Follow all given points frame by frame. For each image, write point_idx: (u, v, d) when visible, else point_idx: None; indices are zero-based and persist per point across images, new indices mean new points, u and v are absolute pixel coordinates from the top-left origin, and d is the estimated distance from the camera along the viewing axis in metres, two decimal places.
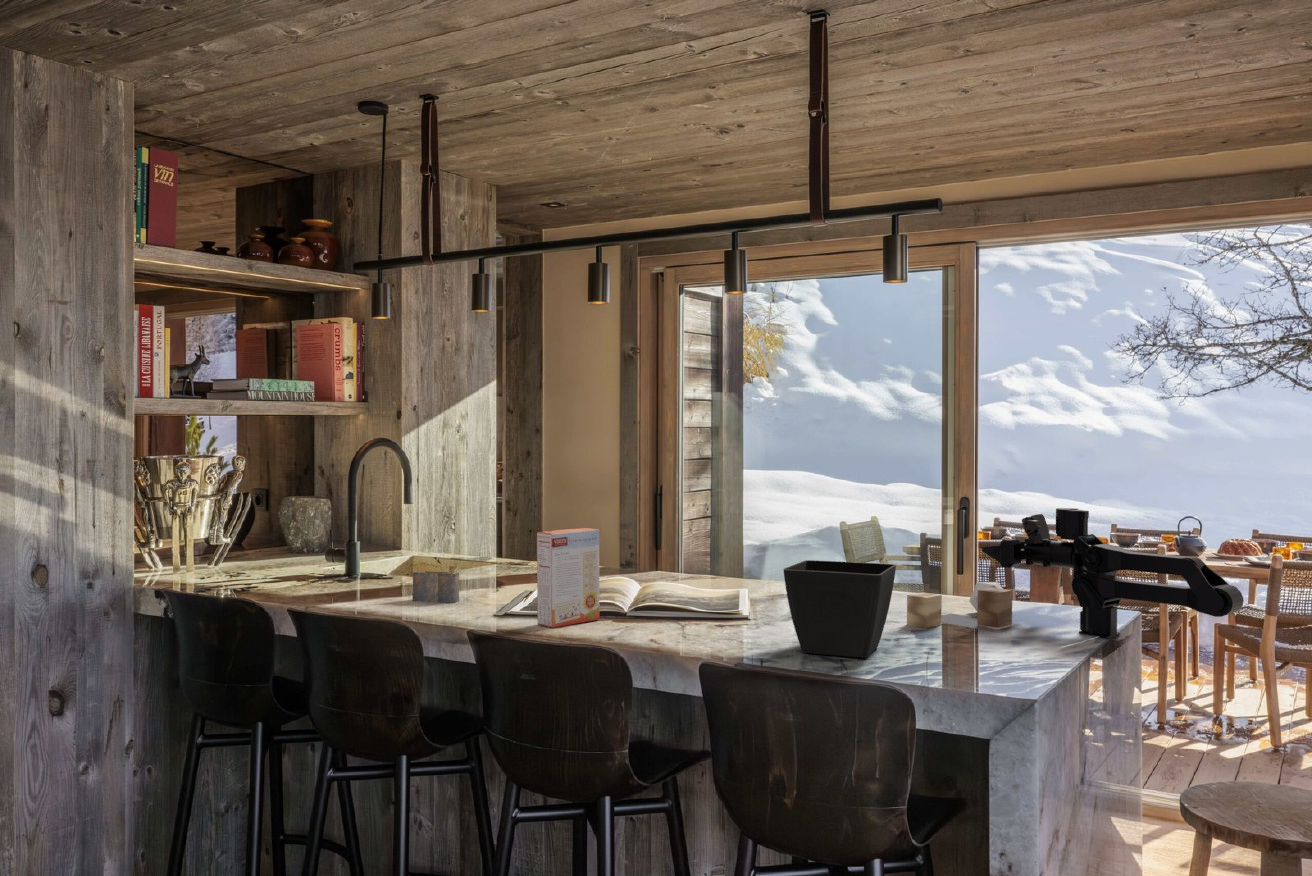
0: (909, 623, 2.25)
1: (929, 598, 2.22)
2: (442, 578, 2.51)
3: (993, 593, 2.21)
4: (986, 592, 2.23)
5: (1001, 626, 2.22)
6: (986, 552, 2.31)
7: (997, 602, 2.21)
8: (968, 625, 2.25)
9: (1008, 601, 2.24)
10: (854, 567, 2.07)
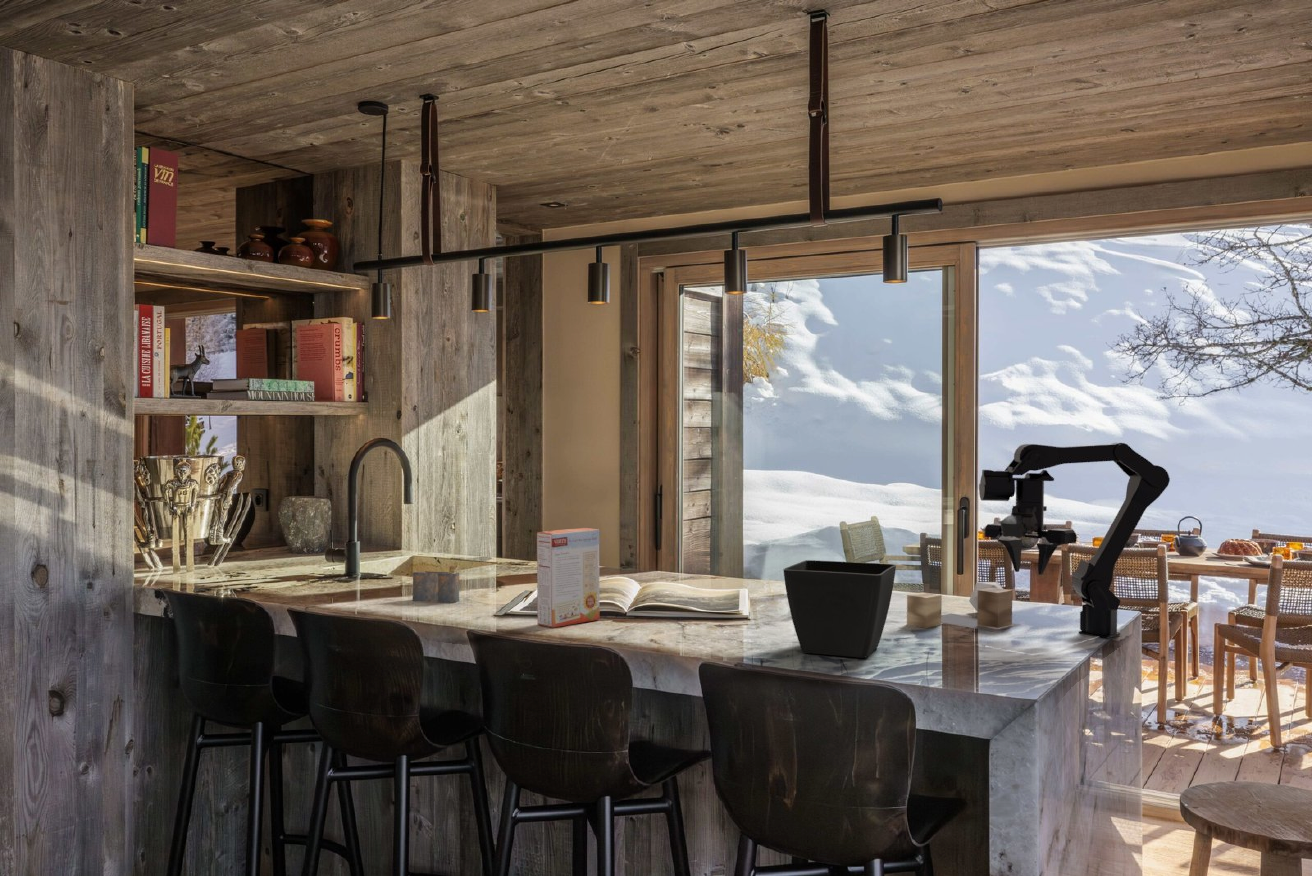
0: (909, 623, 2.25)
1: (929, 598, 2.22)
2: (442, 578, 2.51)
3: (993, 593, 2.21)
4: (986, 592, 2.23)
5: (1001, 626, 2.22)
6: (1044, 568, 2.16)
7: (997, 602, 2.21)
8: (968, 625, 2.25)
9: (1008, 601, 2.24)
10: (854, 567, 2.07)
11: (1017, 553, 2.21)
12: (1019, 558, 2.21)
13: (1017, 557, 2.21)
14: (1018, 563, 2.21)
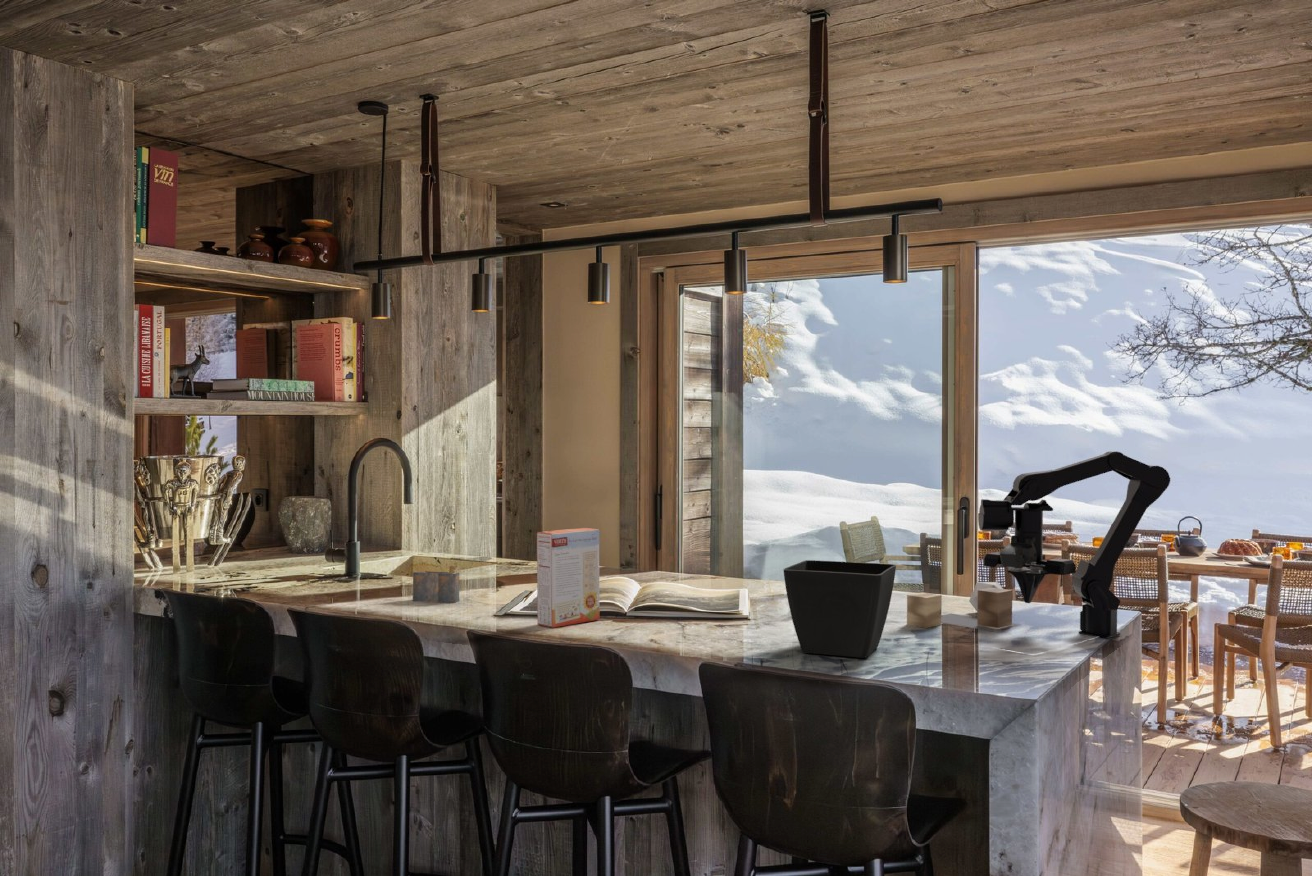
0: (909, 623, 2.25)
1: (929, 598, 2.22)
2: (442, 578, 2.51)
3: (993, 593, 2.21)
4: (986, 592, 2.23)
5: (1001, 626, 2.22)
6: (1032, 596, 2.18)
7: (997, 602, 2.21)
8: (968, 625, 2.25)
9: (1008, 601, 2.24)
10: (854, 567, 2.07)
11: (1027, 584, 2.19)
12: None
13: (1027, 588, 2.19)
14: None
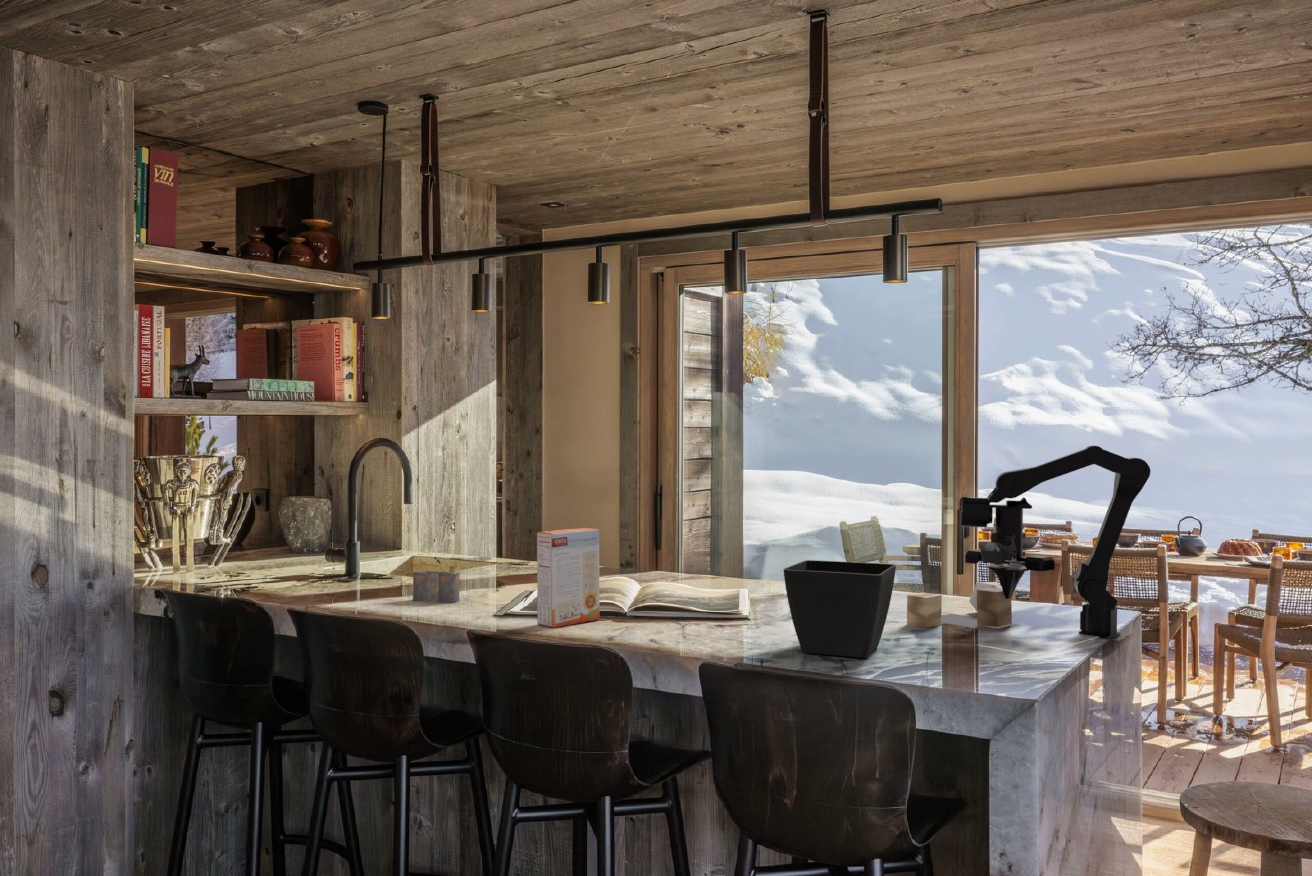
0: (909, 623, 2.25)
1: (929, 598, 2.22)
2: (442, 578, 2.51)
3: (992, 592, 2.22)
4: (985, 592, 2.23)
5: (1001, 625, 2.22)
6: (1012, 593, 2.22)
7: (996, 602, 2.21)
8: (968, 625, 2.25)
9: (1007, 600, 2.24)
10: (854, 567, 2.07)
11: None
12: None
13: None
14: None
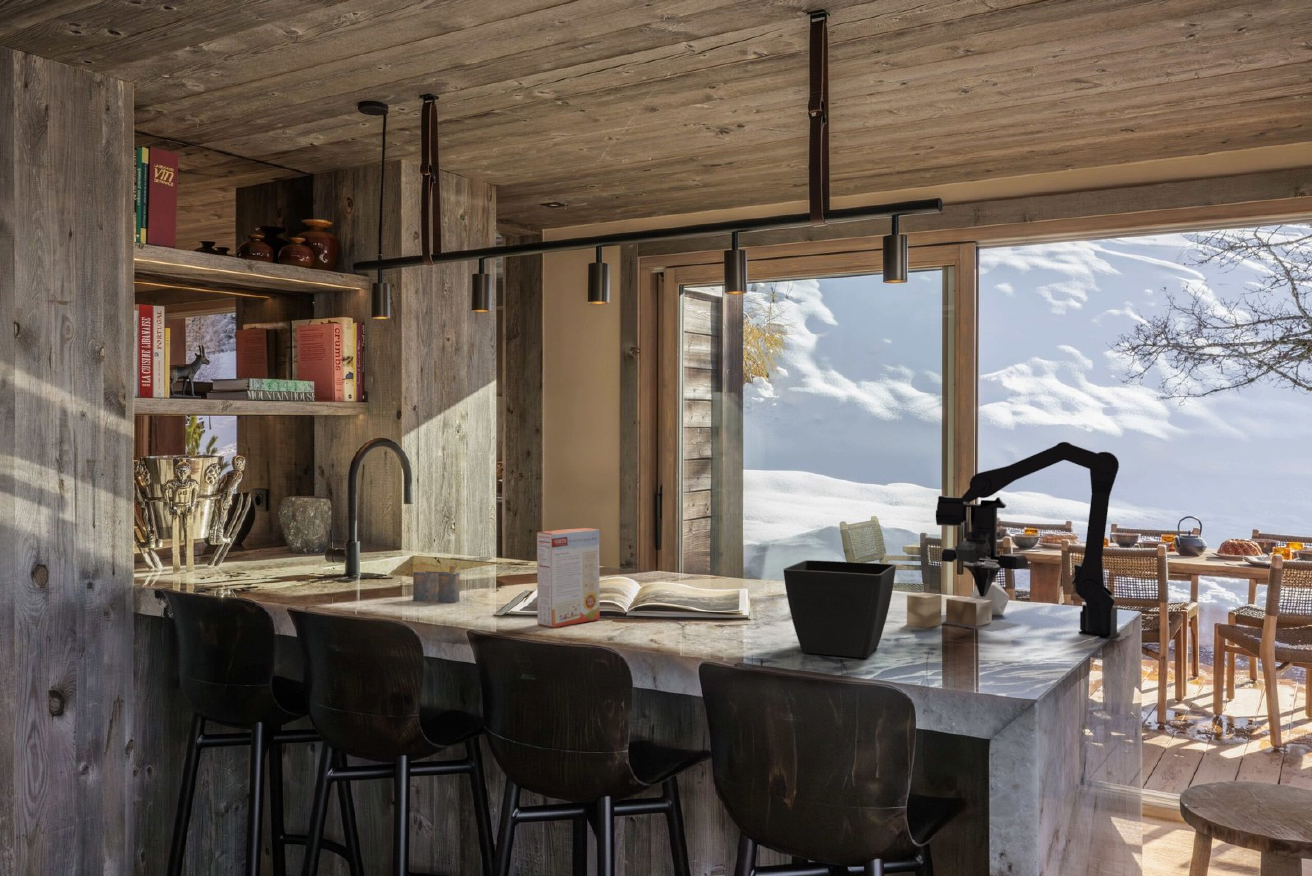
0: (909, 623, 2.25)
1: (929, 598, 2.22)
2: (442, 578, 2.51)
3: (947, 604, 2.30)
4: (947, 611, 2.30)
5: (979, 602, 2.26)
6: (987, 590, 2.27)
7: (954, 600, 2.29)
8: (968, 625, 2.25)
9: (965, 598, 2.32)
10: (854, 567, 2.07)
11: (982, 578, 2.27)
12: None
13: (982, 582, 2.27)
14: None
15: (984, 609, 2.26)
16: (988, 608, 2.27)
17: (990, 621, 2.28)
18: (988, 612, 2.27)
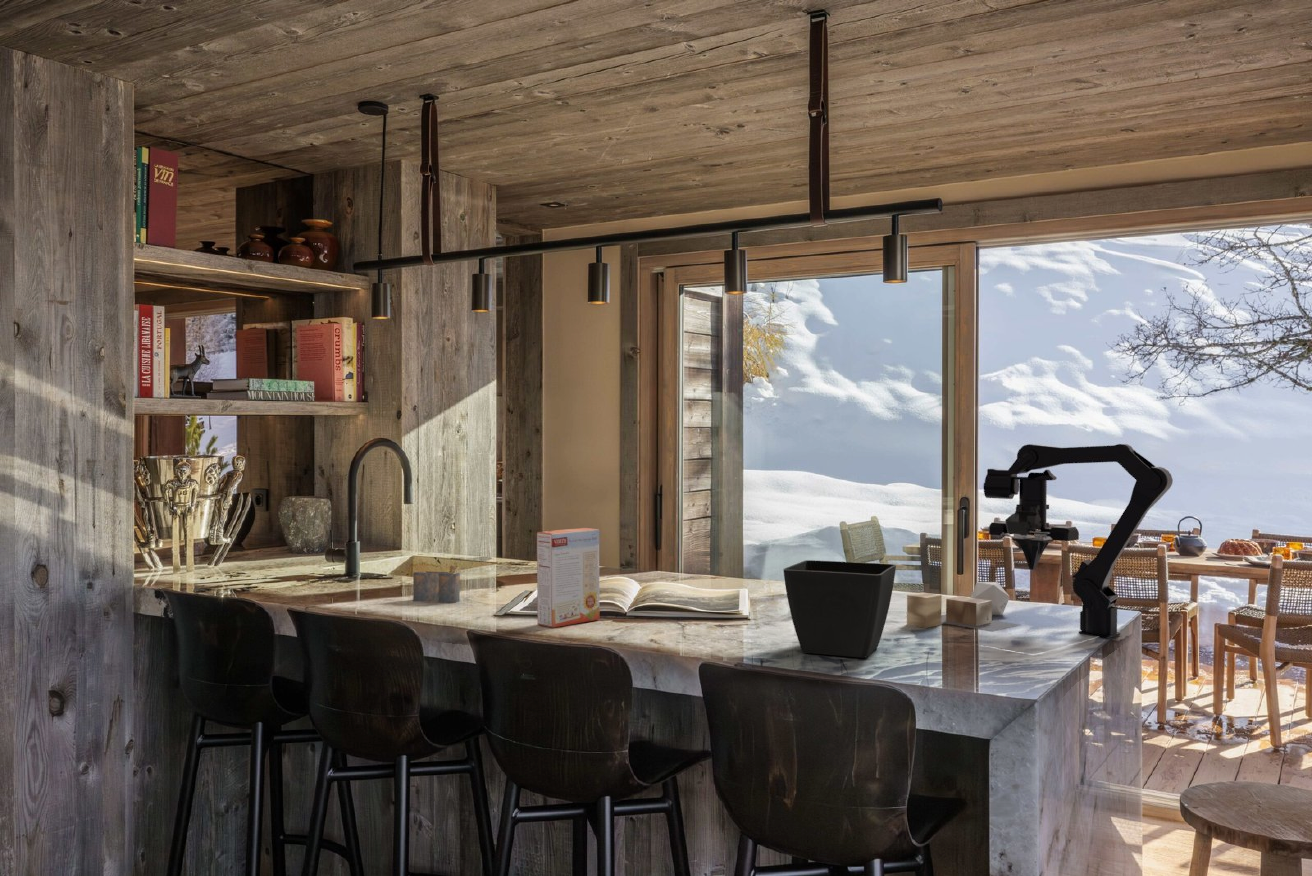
0: (909, 623, 2.25)
1: (929, 598, 2.22)
2: (443, 578, 2.51)
3: (947, 604, 2.30)
4: (947, 611, 2.30)
5: (979, 602, 2.26)
6: (1037, 563, 2.25)
7: (954, 600, 2.29)
8: (968, 625, 2.25)
9: (965, 598, 2.32)
10: (854, 567, 2.07)
11: None
12: None
13: None
14: None
15: (984, 609, 2.26)
16: (988, 608, 2.27)
17: (990, 621, 2.28)
18: (988, 612, 2.27)
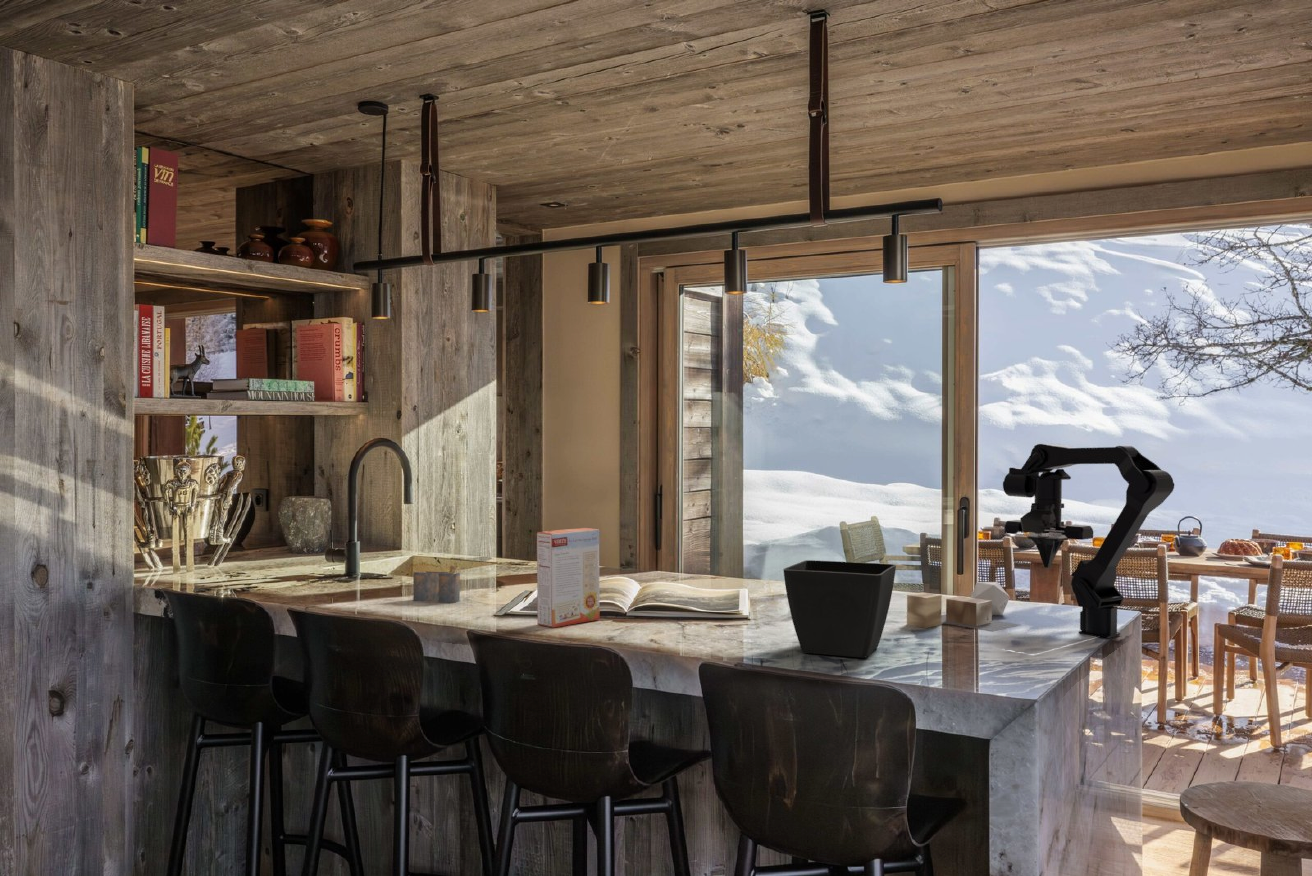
0: (909, 623, 2.25)
1: (929, 598, 2.22)
2: (443, 578, 2.51)
3: (947, 604, 2.30)
4: (947, 611, 2.30)
5: (979, 602, 2.26)
6: (1051, 561, 2.28)
7: (954, 600, 2.29)
8: (968, 625, 2.25)
9: (965, 598, 2.32)
10: (854, 567, 2.07)
11: None
12: None
13: None
14: None
15: (984, 609, 2.26)
16: (988, 608, 2.27)
17: (990, 621, 2.28)
18: (988, 612, 2.27)
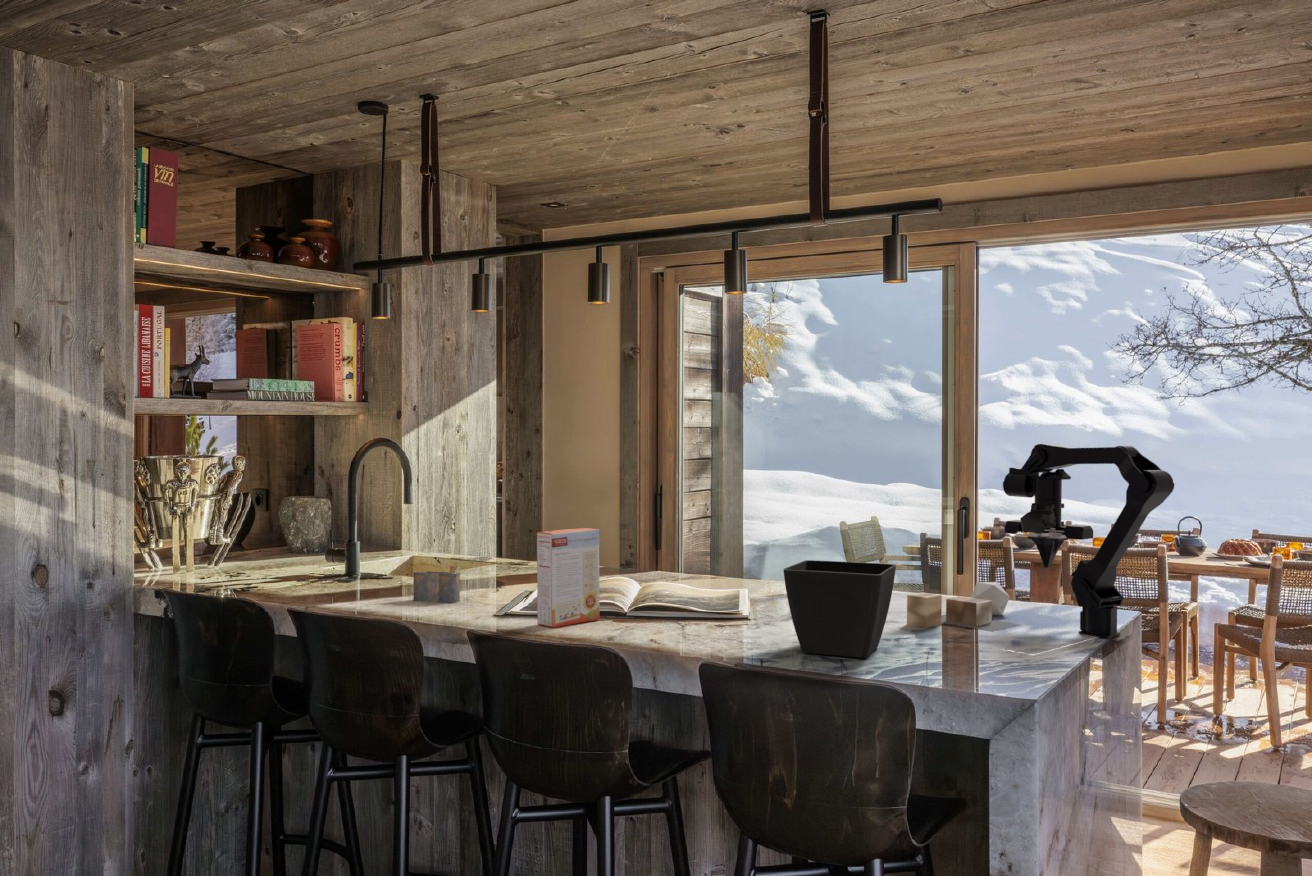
0: (909, 623, 2.25)
1: (929, 598, 2.22)
2: (443, 578, 2.51)
3: (947, 604, 2.30)
4: (947, 611, 2.30)
5: (979, 602, 2.26)
6: (1051, 561, 2.28)
7: (954, 600, 2.29)
8: (968, 625, 2.25)
9: (965, 598, 2.32)
10: (854, 567, 2.07)
11: None
12: None
13: None
14: None
15: (984, 609, 2.26)
16: (988, 608, 2.27)
17: (990, 621, 2.28)
18: (988, 612, 2.27)
